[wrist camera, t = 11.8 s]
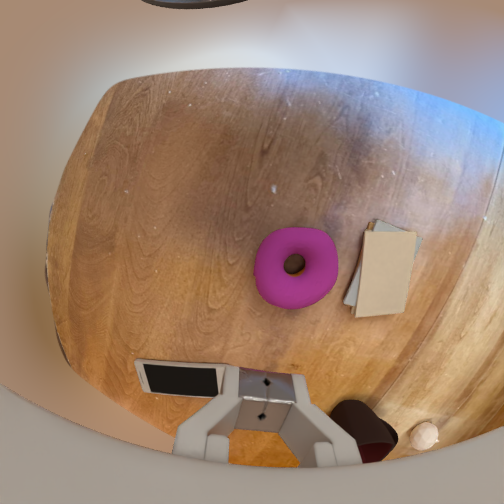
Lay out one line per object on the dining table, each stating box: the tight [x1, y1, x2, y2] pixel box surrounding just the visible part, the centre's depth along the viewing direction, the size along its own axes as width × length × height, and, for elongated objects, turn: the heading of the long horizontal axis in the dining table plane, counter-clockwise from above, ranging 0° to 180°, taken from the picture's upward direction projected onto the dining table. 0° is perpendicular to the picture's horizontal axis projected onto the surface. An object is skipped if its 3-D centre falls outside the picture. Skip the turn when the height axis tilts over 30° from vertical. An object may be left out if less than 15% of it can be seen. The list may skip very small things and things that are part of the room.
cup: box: [330, 400, 398, 464], centre depth 40 cm, size 10×14×12 cm
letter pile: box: [343, 219, 422, 317], centre depth 36 cm, size 14×10×2 cm
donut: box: [254, 227, 338, 309], centre depth 34 cm, size 10×10×5 cm
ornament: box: [410, 422, 439, 451], centre depth 46 cm, size 7×7×8 cm
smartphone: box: [134, 359, 228, 398], centre depth 42 cm, size 7×16×1 cm, turn 91°
